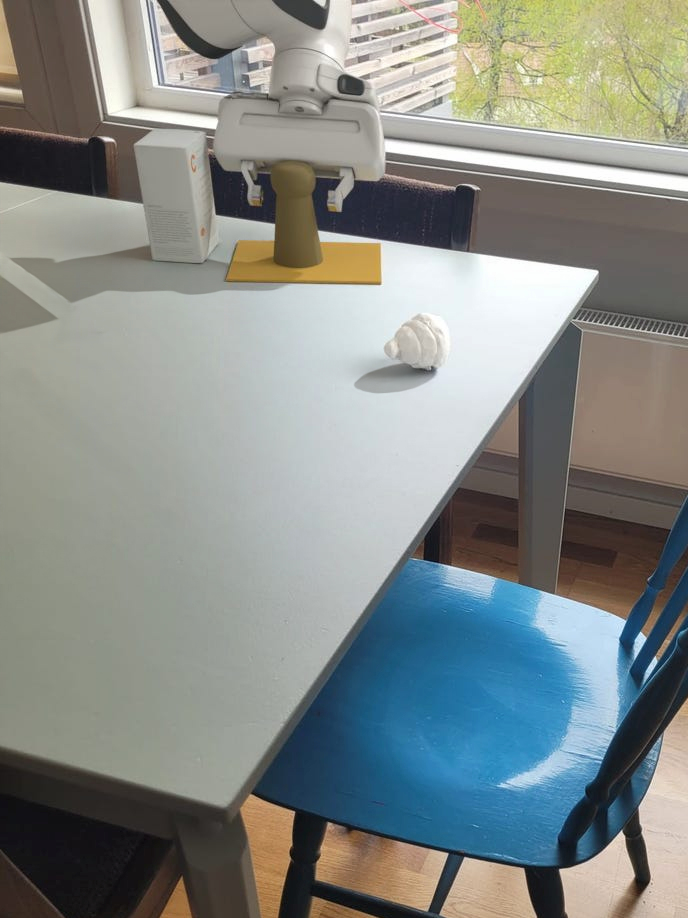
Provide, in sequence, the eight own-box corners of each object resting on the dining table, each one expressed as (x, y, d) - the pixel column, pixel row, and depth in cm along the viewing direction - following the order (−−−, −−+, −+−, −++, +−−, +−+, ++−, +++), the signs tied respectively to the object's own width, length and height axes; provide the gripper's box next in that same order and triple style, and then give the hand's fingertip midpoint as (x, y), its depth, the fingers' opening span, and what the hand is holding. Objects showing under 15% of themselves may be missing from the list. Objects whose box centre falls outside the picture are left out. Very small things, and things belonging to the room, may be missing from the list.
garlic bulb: (373, 366, 100) (372, 312, 96) (424, 354, 102) (425, 302, 99) (400, 387, 96) (400, 332, 93) (452, 375, 99) (454, 321, 96)
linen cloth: (226, 281, 116) (226, 278, 116) (238, 242, 127) (238, 239, 126) (381, 284, 117) (381, 281, 117) (380, 245, 128) (380, 243, 128)
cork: (264, 256, 122) (255, 160, 115) (306, 248, 125) (300, 153, 118) (290, 271, 118) (283, 172, 112) (332, 262, 122) (328, 165, 115)
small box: (170, 239, 126) (154, 127, 118) (220, 243, 126) (207, 130, 118) (150, 261, 120) (131, 143, 112) (202, 264, 120) (187, 147, 111)
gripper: (212, 73, 116) (199, 185, 114) (387, 85, 115) (375, 197, 114) (227, 107, 122) (215, 214, 121) (392, 118, 121) (382, 226, 120)
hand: (294, 206), depth 117 cm, fingers open, 8 cm apart
